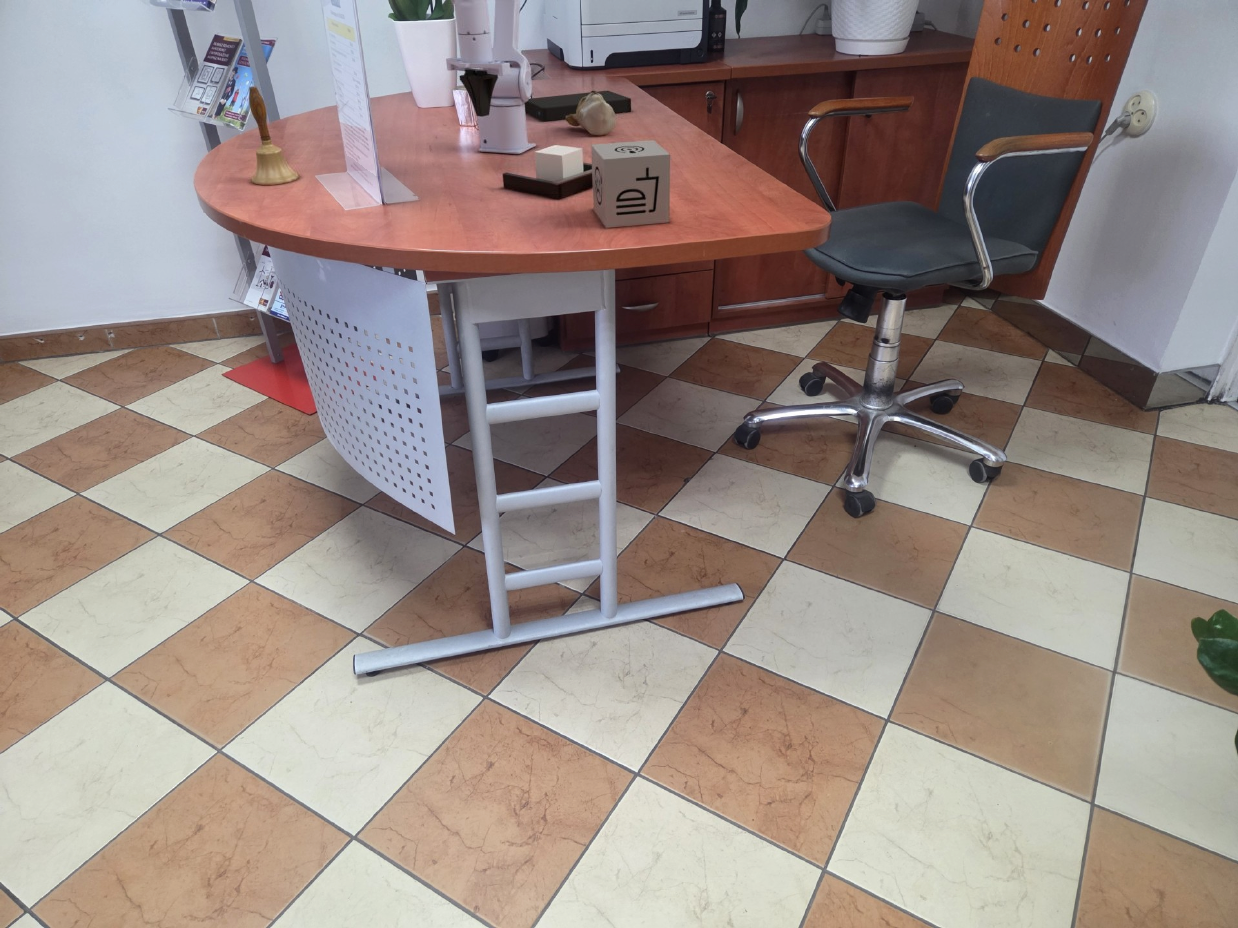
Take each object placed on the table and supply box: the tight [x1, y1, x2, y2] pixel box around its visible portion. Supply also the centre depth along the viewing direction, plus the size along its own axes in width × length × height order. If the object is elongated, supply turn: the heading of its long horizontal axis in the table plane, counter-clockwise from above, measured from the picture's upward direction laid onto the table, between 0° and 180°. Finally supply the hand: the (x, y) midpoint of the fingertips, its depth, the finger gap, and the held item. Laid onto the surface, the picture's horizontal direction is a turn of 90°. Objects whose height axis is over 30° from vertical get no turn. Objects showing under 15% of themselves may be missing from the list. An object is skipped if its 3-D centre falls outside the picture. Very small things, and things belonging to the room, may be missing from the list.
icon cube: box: [590, 139, 671, 229], centre depth 124 cm, size 10×10×10 cm
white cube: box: [534, 144, 584, 182], centre depth 141 cm, size 6×6×6 cm
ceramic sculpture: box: [564, 90, 617, 137], centre depth 178 cm, size 11×9×15 cm
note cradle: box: [502, 162, 593, 200], centre depth 142 cm, size 13×14×3 cm
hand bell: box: [248, 85, 299, 186], centre depth 146 cm, size 8×8×16 cm
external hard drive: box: [525, 90, 632, 123], centre depth 199 cm, size 14×23×3 cm, turn 115°
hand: (483, 115), depth 149 cm, fingers closed
